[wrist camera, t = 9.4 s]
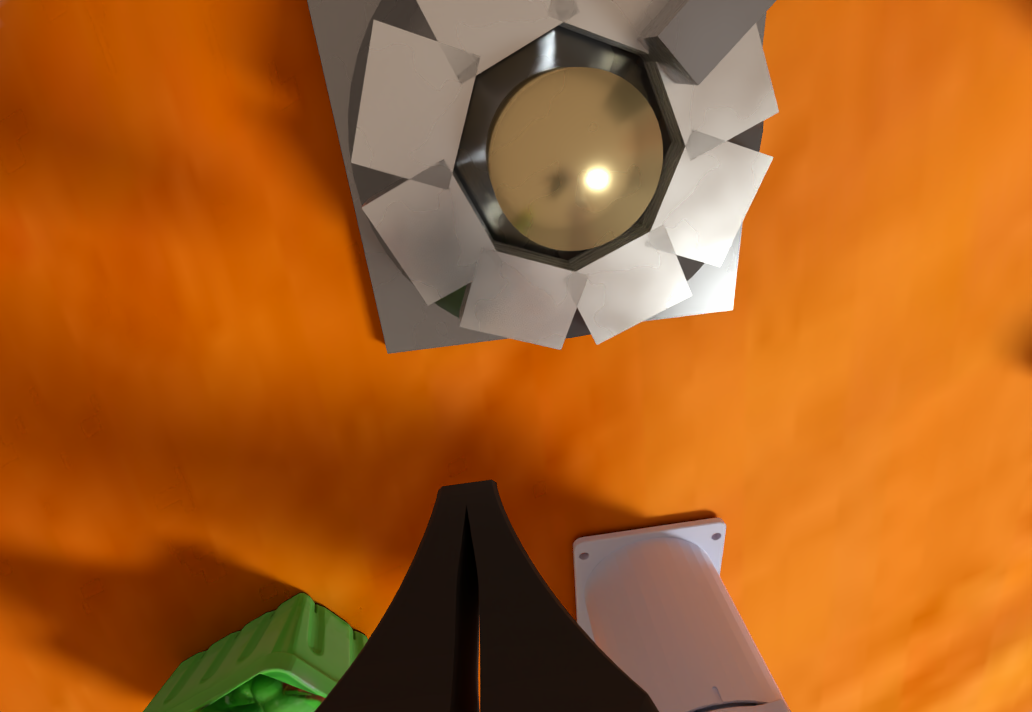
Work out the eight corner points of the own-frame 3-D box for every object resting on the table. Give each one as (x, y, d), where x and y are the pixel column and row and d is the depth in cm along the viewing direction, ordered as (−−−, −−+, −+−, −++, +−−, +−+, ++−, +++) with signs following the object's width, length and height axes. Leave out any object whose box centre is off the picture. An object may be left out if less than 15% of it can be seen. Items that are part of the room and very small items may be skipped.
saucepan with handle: (944, -253, 13) (1065, -330, 11) (658, 358, 21) (688, 401, 18) (470, -537, 11) (476, -731, 8) (336, 283, 18) (317, 321, 16)
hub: (727, 304, 23) (787, 356, 19) (389, 346, 22) (375, 410, 18) (774, -137, 16) (883, -204, 12) (289, -97, 15) (232, -154, 11)
